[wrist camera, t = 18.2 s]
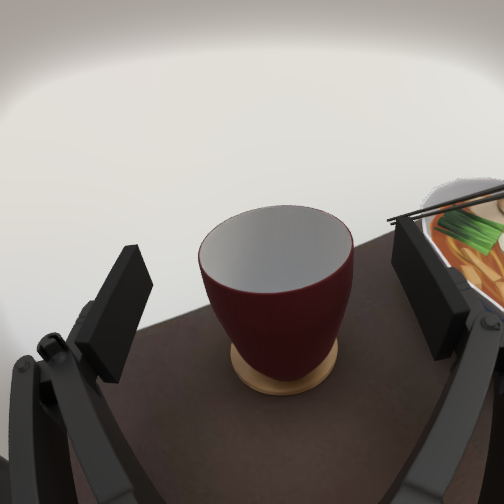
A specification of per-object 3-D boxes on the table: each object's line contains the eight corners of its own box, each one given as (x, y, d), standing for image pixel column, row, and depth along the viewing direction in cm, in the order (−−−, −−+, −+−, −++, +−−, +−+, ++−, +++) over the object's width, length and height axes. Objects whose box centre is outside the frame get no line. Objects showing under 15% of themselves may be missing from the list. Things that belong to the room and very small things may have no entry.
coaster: (264, 415, 19) (262, 411, 19) (215, 340, 25) (213, 335, 25) (359, 358, 22) (360, 353, 22) (299, 299, 28) (298, 294, 28)
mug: (224, 308, 27) (197, 203, 22) (316, 289, 28) (312, 181, 22) (238, 418, 19) (197, 311, 13) (360, 389, 19) (381, 271, 13)
